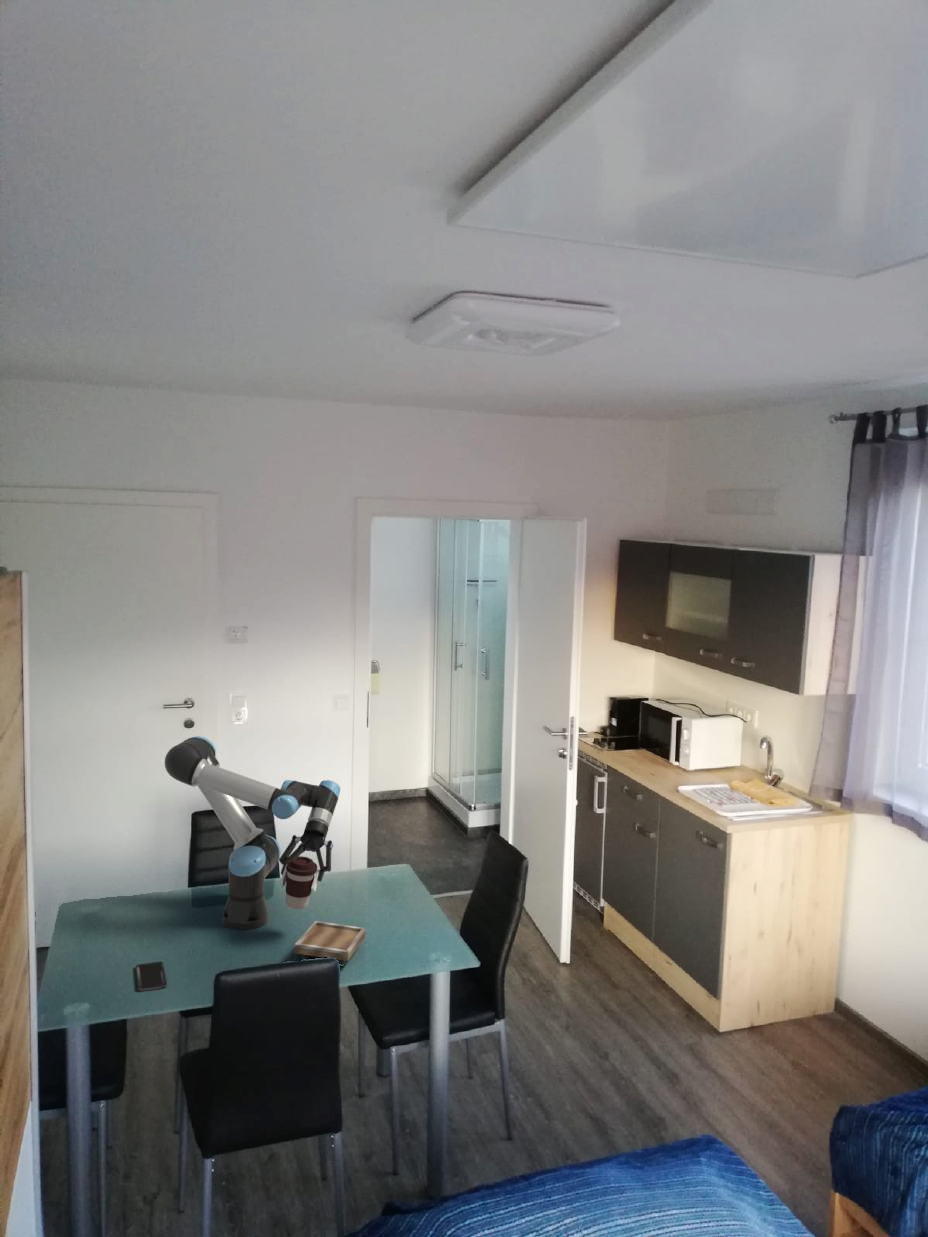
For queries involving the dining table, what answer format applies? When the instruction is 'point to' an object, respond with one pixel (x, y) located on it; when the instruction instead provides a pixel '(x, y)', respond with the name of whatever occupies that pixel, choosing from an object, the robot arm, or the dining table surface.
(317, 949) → the shallow square tray
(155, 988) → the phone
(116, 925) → the dining table surface
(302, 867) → the coffee cup
